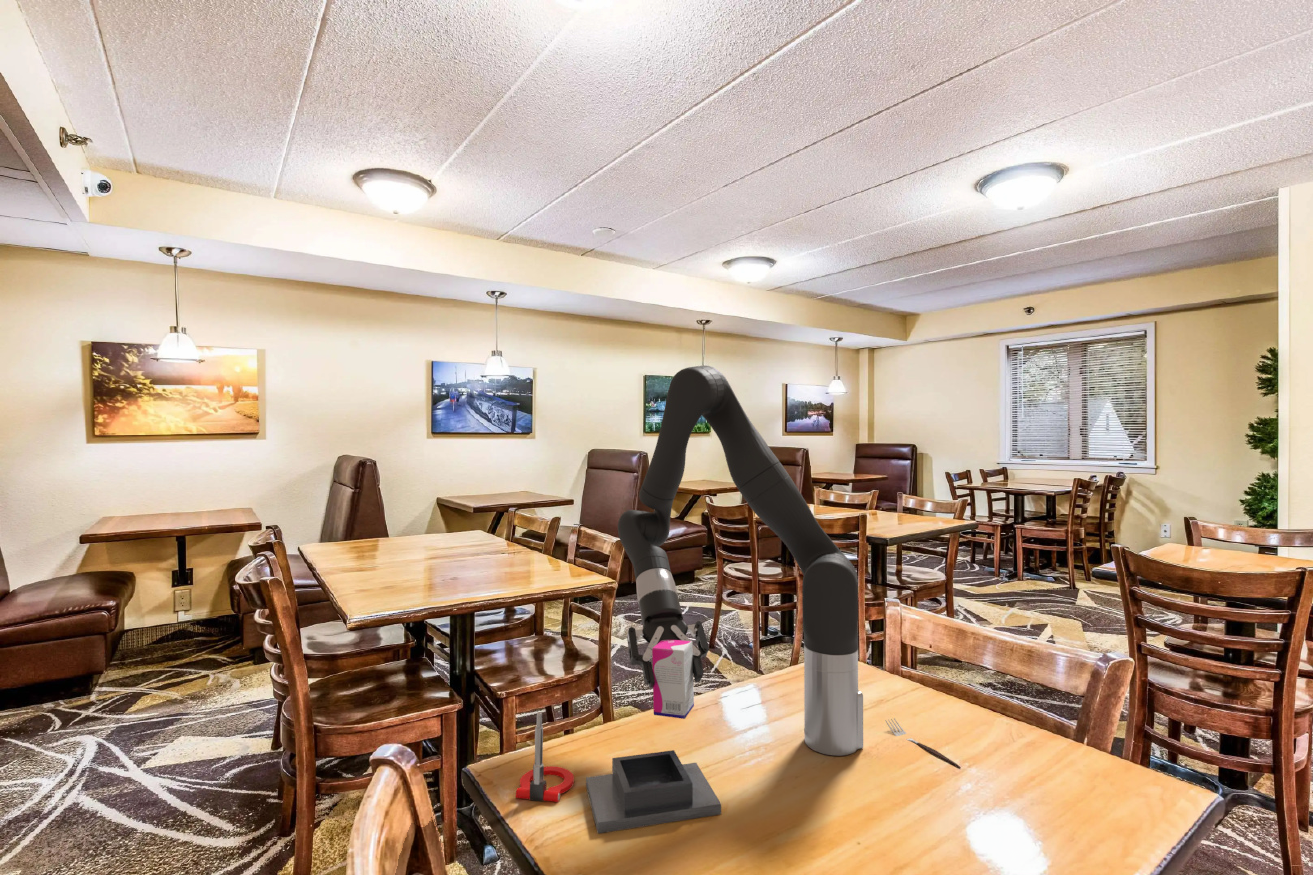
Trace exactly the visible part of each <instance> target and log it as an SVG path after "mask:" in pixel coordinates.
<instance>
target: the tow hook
mask: <svg viewBox="0 0 1313 875" xmlns="http://www.w3.org/2000/svg"><path fill="white" fill-rule="evenodd" d="M543 742H544V726H543V712H539V711H538V712H537V713H536V726H535V727H534V764H533V766H532V768H533V769H530V770H528V771H527V772H525V773H524V774H522V776H521V777H520V778H519V787H517V789H516V792H515V798H516V799H523V800H524V799H525V800H530V801H536V802H555V803H558V802H560V799H561V795H562V794H564V793H566V792H567V791H569V790H570V789H571V788H573V786H574V784H575V775H574V774H573V772H572V771H570V770H569V769H567V768H564V767H561V766H553V765H552V766H551V765H549V766H544V762H543V759H544V758H543V757H544V756H543V755H544V754H543V751H544V747H543V746H544V743H543ZM545 776H556V777H560V778H562V780H563V781H562V782H560V783H558V784H557V785H553V786H551V787H548V789H547V780H546V779H544V777H545Z"/></svg>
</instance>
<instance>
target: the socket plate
mask: <svg viewBox="0 0 1313 875" xmlns="http://www.w3.org/2000/svg"><path fill="white" fill-rule="evenodd" d="M611 760H612V762H611V763H612V764H611V766H612V768H611V769H612V772H611V773H608V774H603V775H601V774H600V775H593V776H587V777H585V788H586V792H587V797H588V801H589V804H590V808H591V812H592V816H593V820H594V824H595V827H596V832H597V834H602V833H603V834H604V833H610V832H611V833H612V832H617V831H624V830H628V829H636V828H642V827H648V826H654V825H655V826H656V825H660V824H667V823H674V822H680V821H686V820H694V819H698V818H699V819H700V818H705V817H706V818H707V817H712V816H718V815H722V803H721V801H720V800H719V798H718V796H717V794H716V793H715V791H714V790H713V788H712V787H711V784H710V783H709V781H708V779H707V778H706V777H705V775H704V773H703V771H702V770H701V768H700V767H699V765H698V762H691V763H684V764H683V763H682V762H681V760H680V759H679V756H678V754H677V753H676V751H675V750H674V749H673V750H665V751H659V752H658V751H656V752H650V753H649V752H648V753H643V754H634V755H633V754H632V755H628V756H627V755H626V756H619V757H612V759H611Z"/></svg>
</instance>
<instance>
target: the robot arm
mask: <svg viewBox="0 0 1313 875" xmlns="http://www.w3.org/2000/svg"><path fill="white" fill-rule="evenodd" d="M701 417H703V418H704V420H705V421H706V422H707V423H708V424H709V426H710V428H711V429H712V431H713V432H714V433H715V435H716V436H717V438H718V440H719V441H720V444H721V447H722V450H723V453H724V457H725V461H726V465H727V468H728V471H729V474H730V477H731V479H732V481H733V483H734V485H735V486H736V488H737V490H738V492H739V493H740V494H741V495H742V497H743V499H744V500H745V502H746V503H747V505H748V506H749V508H750V509H751V510H752V511H753V512H754V514H756V516H757V517H758V518H759V519H760V521H762V523H764V524H765V525H766V527H768V528H769V530H771V531H772V532H773V533H774V534H775V535H776V536H777V537H778V538H779V539H780V540H781V541H782V543H784V545H785V546H786V548H787V549H788V550H789V552H790V553H791V556H792V557H793V559H794V560H795V562H796V563H797V565H798V568H799V569H800V570H801V571H800V572H801V573H802V575H803V577H802V593H801V594H802V595H801V598H802V600H801V601H802V605H801V606H802V607H801V608H802V632H803V655H804V656H803V661H804V662H803V664H804V666H803V667H804V669H803V670H804V671H803V673H804V674H803V675H804V676H803V677H804V678H803V680H804V681H803V682H804V683H803V684H804V688H803V689H804V693H803V694H804V695H803V696H804V698H803V699H804V700H803V701H804V703H803V704H804V707H803V708H804V710H803V712H804V725H803V726H804V727H803V731H804V732H803V733H804V743H805V744H806V746H807V747H809V748H810V749H811V750H813V751H815V752H816V753H817V752H818V753H820V754H823V755H828V756H835V757H837V756H839V757H840V756H848V755H852V754H854V753H855V752H856V751H857V750H859V749H864V694H863V692H862V691H860V690H859V623H858V622H859V621H858V620H859V618H858V617H859V616H858V615H859V612H858V611H859V596H858V594H859V589H858V587H859V586H858V585H859V579H858V573H857V570H856V568H855V566H854V564H853V563H852V561H851V560H849V558H848V557H847V556H846V555H845V554H844V553H843V552H842V551H841V549H840V548H839V547H838V546H837V545H836V544H835V543H834V541H833V540H832V539H831V538H830V536H829V535H828V534H827V533H826V532H825V530H824V529H823V528H822V527H821V525H820V524H819V522H818V521H817V518H816V517H815V515H814V514H813V512H812V510H811V508H810V507H809V505H808V503H807V501H806V500H805V498H804V497H803V494H802V493H801V491H800V490H799V488H798V487H797V485H796V484H795V482H794V481H793V480H794V479H792V477H791V476H790V474H789V472H788V471H787V469H785V467H784V466H783V464H782V463H781V462H780V460H779V458H778V457H777V456H776V454H774V452H773V451H772V448H770V447H769V445H768V444H767V442H766V440H765V439H764V438H763V436H762V435H761V433H760V432H759V431H758V429H757V428H756V427H755V425H754V423H752V421H751V420H750V417H748V415H747V414H746V412H745V410H744V408H743V406H742V405H741V403H740V401H739V399H738V398H737V396H736V394H735V391H734V390H733V389H732V387H731V384H730V383H729V381H728V380H727V378H726V376H725V375H724V374H723V373H722V372H721V371H720V370H719V369H717V368H715V367H714V366H710V365H697V366H689V367H686V368H682V369H680V370H679V371H678V372H676V374H674V375H673V377H672V379H671V380H670V383H669V386H668V391H667V395H666V399H665V405H664V411H663V416H662V420H661V424H660V428H659V433H658V437H657V440H656V445H655V449H654V451H653V454H652V458H651V459H650V464H649V465H648V468H647V471H646V474H645V476H644V479H643V481H642V484H641V487H640V489H639V493H638V497H639V501H640V502H641V503H642V505H644V506H645V507H648V508H649V509H652V510H653V512H651V511H650V512H649V511H645V510H637V509H629V510H625V511H624V512H623V513H622V514H621V515H620V517H619V518H618V522H617V533H618V534H617V535H618V538H619V541H620V543H621V545H622V547H623V549H624V550H625V553H626V555H627V557H628V558H629V560H630V562H631V564H632V567H633V571H634V576H635V577H634V578H635V582H636V583H635V584H636V596H637V597H636V599H637V603H638V607H639V612H640V617H641V623H642V629H635V627H633V626H630V627H629V628H628V629H627V633H626V634H627V635H626V639H627V640H626V641H627V647H628V648H627V649H628V654H629V655H628V656H629V663H630V665H632V666H636V665H638V666H640V668H641V669H642V675H643V682H644V683H645V685H648V688H650V689H651V688H653V687H654V684H655V680H654V674H653V662H652V661H651V660H652V648H653V647H654V646H656V645H657V644H658V643H659V642H660V641H661V640H682V641H692V640H691V639H690V638H689V637H688V636H687V633H690V634H691V636H692V638H694V639H695V643H696V645H694V644H693V643H692V649H693V680H694V682H695V683H700V682H701V680H702V679H703V676H704V673H705V672H704V667H703V662H702V658H703V659H705V658H706V657H707V656H708V653H709V651H710V647H709V643H708V640H707V635H706V633H705V629H704V626H703V623H702V622H701V621H700V620H698V621H697V620H696V622H695V623H694V624H687V623H686V621H684V616H683V612H682V607H681V603H680V599H679V595H678V591H677V587H676V582H675V580H674V577H673V575H672V571H671V567H670V561H669V558H668V554H667V552H666V550H664V549H663V548H661V547H660V546H662V545H663V544H664V543H666V541H667V540H668V538H669V536H670V526H671V516H672V515H671V514H672V509H673V503H674V500H675V498H676V495H677V493H678V489H679V487H680V485H681V482H682V480H683V476H684V473H685V467H686V456H687V448H688V444H689V440H690V437H691V436H692V432H693V431H694V428H695V427H696V425H697V423H698V422H699V420H700V419H701ZM641 638H643V640H645V642H647V643H648V645H647V647H646V649H645V652H644V653H643V654H640V652H639V648H638V647H639V646H638V643H639V642H640V639H641ZM696 646H697V647H696Z"/></svg>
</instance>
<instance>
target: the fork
mask: <svg viewBox="0 0 1313 875" xmlns="http://www.w3.org/2000/svg"><path fill="white" fill-rule="evenodd" d="M890 720H891V721H890ZM888 722H889V723H888ZM885 723H886V725H887V726H888V727H889V729H890V730H891V732H892V734H893V735H894V736H895V737H899V736H903V735H906V734H908V733H907V732H906V731H905V730H904V729H903V727H902V726H901V725H900V724H899V722H898V721H897V719H896V718H895V717H894V718H893V719H892V718H891V719H888V720H887V719H885ZM892 723H893V724H892ZM894 726H895V727H894ZM906 741H909V742H912V743H914V744H915V745H917V746H918V747H920V748H921V749H923V751H925V752H927V753H929V754H931V755H933V756H934V757H937V758H938V759H940V760H942V761H945V762H946V763H948V764H950V765H952V766H954V767H956V768H959V769H961V768H962V766H960V765H958V764H957V763H956V762H954V761H953V760H951V759H950V758H949V757H947V756H945V755H944V754H943V753H940V752H939V751H938V750H936V749H934V748H932V747H929V746H928V745H926V744H923V743H921V742H919V741H917V740H914V738H907V739H906Z"/></svg>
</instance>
